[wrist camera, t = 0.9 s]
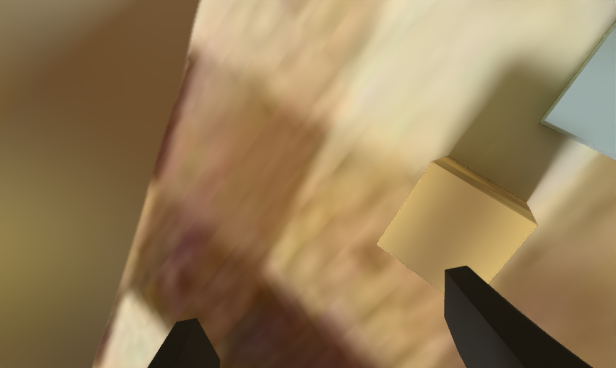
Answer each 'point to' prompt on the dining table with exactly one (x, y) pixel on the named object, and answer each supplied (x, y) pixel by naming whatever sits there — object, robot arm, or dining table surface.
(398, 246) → the ochre block
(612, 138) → the base block
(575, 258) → the dining table surface
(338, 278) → the dining table surface
